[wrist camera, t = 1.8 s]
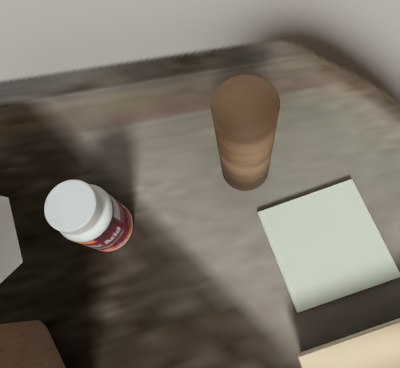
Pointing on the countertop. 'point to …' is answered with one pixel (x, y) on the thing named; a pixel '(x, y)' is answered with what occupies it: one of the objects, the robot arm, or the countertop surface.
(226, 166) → the walnut roller
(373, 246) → the mat
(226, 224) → the countertop surface
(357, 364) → the birch slab
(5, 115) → the countertop surface
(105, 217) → the pill bottle
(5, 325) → the wooden block
